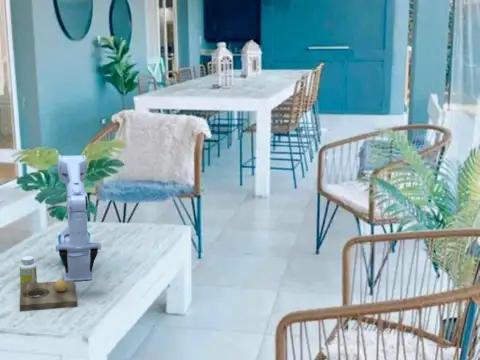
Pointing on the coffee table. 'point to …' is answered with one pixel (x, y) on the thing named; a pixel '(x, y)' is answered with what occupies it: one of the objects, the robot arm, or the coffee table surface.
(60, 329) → the coffee table surface
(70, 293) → the wooden board with hole
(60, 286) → the ball
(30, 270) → the supplement bottle
